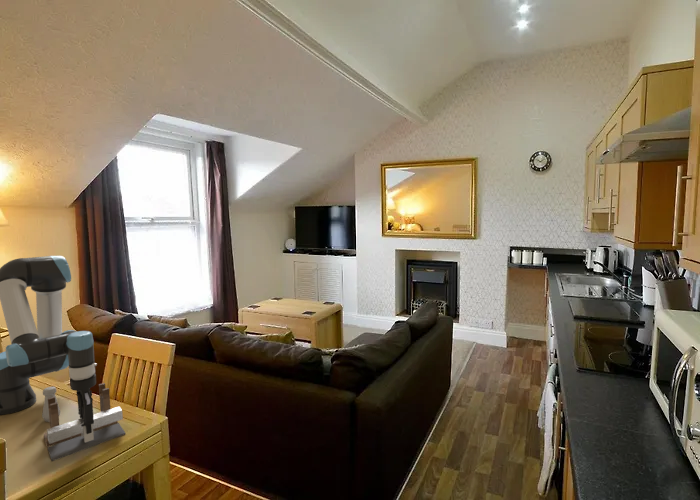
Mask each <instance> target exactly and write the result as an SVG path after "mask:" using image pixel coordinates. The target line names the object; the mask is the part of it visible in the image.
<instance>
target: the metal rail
mask: <svg viewBox="0 0 700 500" xmlns="http://www.w3.org/2000/svg"><path fill="white" fill-rule="evenodd" d="M123 415H124V414H123V410H122V408H121V406H116V407H113V408H110V409H109V410H106V411H103V412H101V411H99V412H97V413H93V418H94V424H93V429H95V428H98V427H101V426H104V425H107V424H110V423H113V422H116V421H118V422H119V421H121V420H123ZM82 424H84V420H83V418H78V419H76V420H75V419H74V420H72V421H68V422H65V423H61V424H59V426H55V427H52V428H50V427H49V428H46V433H47V437H48V441H49V444H51V443H54V442H57V441H60V440H63V439H65V438H68V437H71V436H74V435H77V434H80V433H83V432H84V431H83V426H81V425H82Z"/></svg>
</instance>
